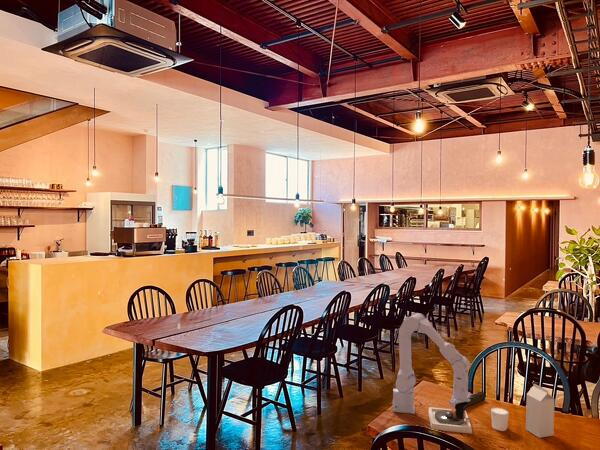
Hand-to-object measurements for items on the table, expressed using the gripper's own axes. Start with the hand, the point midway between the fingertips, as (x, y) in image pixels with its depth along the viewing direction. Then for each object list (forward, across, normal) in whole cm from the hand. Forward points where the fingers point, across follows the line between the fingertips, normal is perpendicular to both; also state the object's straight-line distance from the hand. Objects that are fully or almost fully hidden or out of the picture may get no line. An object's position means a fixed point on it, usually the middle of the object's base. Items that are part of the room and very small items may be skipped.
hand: (459, 418), depth 185 cm
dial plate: (+3, -1, +4) cm, 5 cm away
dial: (+1, -1, +4) cm, 4 cm away
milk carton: (+3, +18, -25) cm, 31 cm away
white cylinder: (+3, +11, -12) cm, 16 cm away
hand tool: (+3, +23, +6) cm, 24 cm away
